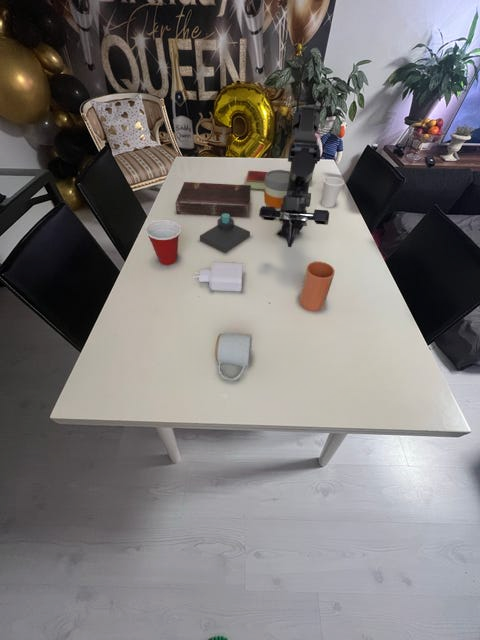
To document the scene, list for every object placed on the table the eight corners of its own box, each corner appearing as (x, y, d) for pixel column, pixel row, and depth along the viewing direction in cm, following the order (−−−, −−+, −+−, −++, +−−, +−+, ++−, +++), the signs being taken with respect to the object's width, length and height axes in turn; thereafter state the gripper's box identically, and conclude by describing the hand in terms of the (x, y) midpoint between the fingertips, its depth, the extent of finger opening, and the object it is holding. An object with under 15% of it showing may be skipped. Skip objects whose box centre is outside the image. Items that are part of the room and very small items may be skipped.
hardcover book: (247, 178, 145) (248, 169, 142) (290, 181, 144) (292, 172, 141) (245, 189, 137) (245, 179, 134) (290, 192, 136) (292, 183, 133)
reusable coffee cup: (257, 218, 120) (260, 179, 109) (266, 204, 128) (270, 167, 117) (287, 224, 117) (294, 185, 106) (295, 209, 125) (301, 172, 114)
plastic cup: (178, 272, 95) (173, 239, 86) (147, 267, 97) (138, 234, 88) (189, 253, 103) (185, 221, 94) (159, 248, 104) (153, 216, 95)
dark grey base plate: (225, 224, 116) (224, 215, 113) (250, 236, 111) (251, 226, 108) (199, 240, 108) (198, 230, 105) (225, 253, 103) (225, 243, 100)
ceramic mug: (219, 344, 76) (218, 324, 70) (251, 347, 76) (253, 328, 70) (212, 380, 69) (210, 362, 63) (247, 384, 69) (248, 366, 63)
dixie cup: (339, 208, 127) (346, 185, 119) (319, 208, 127) (325, 184, 119) (335, 199, 132) (341, 176, 125) (316, 199, 132) (321, 175, 125)
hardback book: (176, 214, 120) (175, 202, 117) (185, 193, 133) (184, 181, 129) (248, 218, 119) (248, 206, 116) (250, 196, 132) (250, 185, 128)
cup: (306, 290, 91) (315, 258, 82) (328, 301, 88) (339, 268, 79) (294, 303, 87) (301, 270, 78) (316, 314, 84) (326, 282, 75)
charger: (196, 271, 96) (242, 273, 96) (191, 290, 90) (241, 293, 89) (194, 259, 92) (243, 261, 92) (190, 278, 86) (241, 281, 86)
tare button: (225, 218, 112) (225, 212, 110) (231, 221, 110) (231, 215, 108) (220, 222, 110) (219, 215, 108) (226, 224, 109) (226, 218, 107)
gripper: (258, 177, 76) (250, 240, 79) (334, 180, 71) (323, 247, 74) (266, 190, 87) (259, 245, 89) (332, 194, 82) (323, 251, 84)
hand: (289, 247), depth 84 cm, fingers closed
